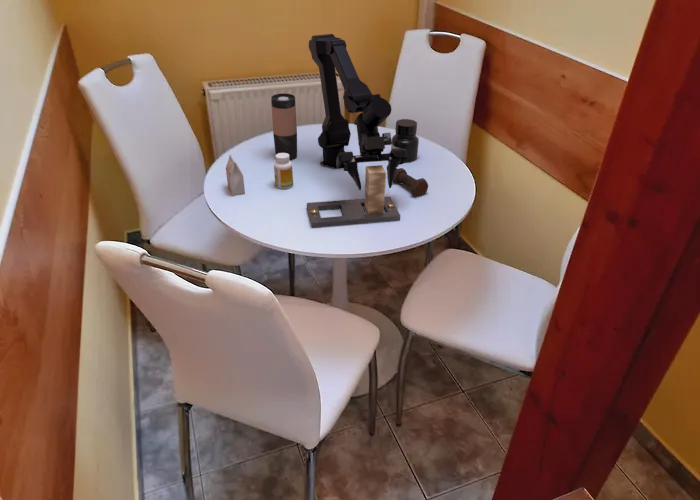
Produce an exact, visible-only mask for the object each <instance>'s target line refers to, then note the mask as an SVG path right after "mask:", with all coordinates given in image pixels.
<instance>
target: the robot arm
mask: <svg viewBox="0 0 700 500" xmlns="http://www.w3.org/2000/svg"><path fill="white" fill-rule="evenodd" d="M308 49H309V52H310V54H311V59H312V60H313V61H314V63H315V64H316V66H317V67H318V71H319V77H320V79H319V80H320V84H321V92H322V93H321V94H322V99H323V106H324V107H323V108H324V113H325V117H324V118H323V119H324V120H323V122H322V125H321V131H322V132H321V133H320V134H319V136H318V138H317V142H318V146H319V148H321V149H322V160H321V161H320V162H319V164H320V166H325V167H327V168H332V169H337V170H339V169H341V170H343V171H344V172H347V173H348V174H349V176H350V177H351V179H352V180H353V182H354V183H355V185H356V186H357V188H358V190H359V191H362V182H361V178H360V174H359V173H360V172H359V169H358V168H359V167H358V163H359V164H360V163H374V162H386V161H388V162H387V165H386V176H387V183H388V184H387V185H388V188H389V189H391V188H392V185H393V182H394V181H393V176H394V171H395V168H397V169H398V167H399V165H401V166H402V165H403V164H404V163H406V162H405V160H406V159H407V157H408V156H407V151H406V150H405V149H404V148H399V149H392V150H391V149H390V152H389V153H384V150H385V149H386V146H391V143H392V133H391V132H384V133H382V134H381V135H380V132H379V126H381V125H382V124H383V123H384V122H385V121H386V119H387V118H388V117H389V116H390V115H391V113H392V106H391V103H390V102H389V101H388V100H387V99H385V98H383V97H381V95H380V93H375V94H373V93H372V91H371V89H370V88H369V86H368V85H367V84H366V83H365V82H363V81H362V80H361V79H360V77H359V75H358V73H357V71H356V68H355V66H354V63H353V61H352V59H351V57H350V55H349V51H348V50H347V43H346V41H345V40H344V39H342V37H337V36H335V34H333V33H324V34H316V35H315V34H314V35H312V36H311V38H310V39H309V40H308ZM337 75H338V77H339V80H340V82H341V84H342V87H343V90H344V92H343V97H342V98H343V99H342V100H343V102H344V103H343V104H344V105H343V106H344V107H345V110H346V111H347V112H348V113H350V114H357V113H359V114H358V115H356V117H355V120H354V123H353V125H355V126H356V131H357V133H356V134H357V140H358V143H357V144H358V147H359V155H354V152H353V151H346V150H345V147H348V146H349V144H350V140H351V139H350V138H351V135H352V133H351V130H350V126H349V125H350V124H349V120H348V119H347V118H346V119H345V116H344V115H342V111H341V104H340V103H341V102H340V96H339V87H338V79H337Z"/></svg>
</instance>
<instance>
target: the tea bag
mask: <svg viewBox="0 0 700 500" xmlns="http://www.w3.org/2000/svg"><path fill="white" fill-rule="evenodd" d="M225 173H226V174H225V175H226V181H227V187H228V189H229V191H230V194H231V196H232V197H237V196H241V195H246V191H245V189H246V188H245V181H244V175H243V172H242V171H241V169H240V167H239V165H238V163H237V162H236V161H235V160H234V158H233V156H232V154H229V157H228V161H227V162H226V166H225Z"/></svg>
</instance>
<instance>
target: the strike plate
mask: <svg viewBox="0 0 700 500" xmlns="http://www.w3.org/2000/svg"><path fill="white" fill-rule="evenodd" d="M364 206H365V197H364V198H355V199H354V198H352V199H338V200H328V201H325V200H324V201H313V202H306V210H307V213H308V214H307V215H308V219H309V223H310V227H311V229H317V228H318V229H319V228H328V227H329V228H330V227H339V226H353V225H362V224H363V225H365V224H373V223H374V224H375V223H386V222H398V221H401V214H400V212H399V210H398V208H397V207H396V204H395V203H394V201H393V198H392V196H391V195H390V196H385V197H384V213H373V214H366V212H365V209H364ZM332 210H333V211H334V210H335V211H336V210H340V211H341V214H342V215H339V216H327V217H321V214H320V212H321V211H332Z"/></svg>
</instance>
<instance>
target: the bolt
mask: <svg viewBox="0 0 700 500" xmlns="http://www.w3.org/2000/svg"><path fill="white" fill-rule="evenodd" d="M392 182H394V183H395V184H397V185H400V184H402V185H403V186H404V187H407V188H408V189H410V192H411V194H412V196H413V195H414V196H413V197H415V198H420V197H422V195H423V196H425V194H426V193H427V191H428V190H429V183H428V181H427V180H426V178H423V177H422V178H419V179H416V178H414V177H412V176H411V175H409V174H408V172H407V171H406V170H405V168H403V167H402V168H401V167H399V168H398V167H397V168H395V171H394V176H393V181H392ZM419 196H420V197H419Z"/></svg>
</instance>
